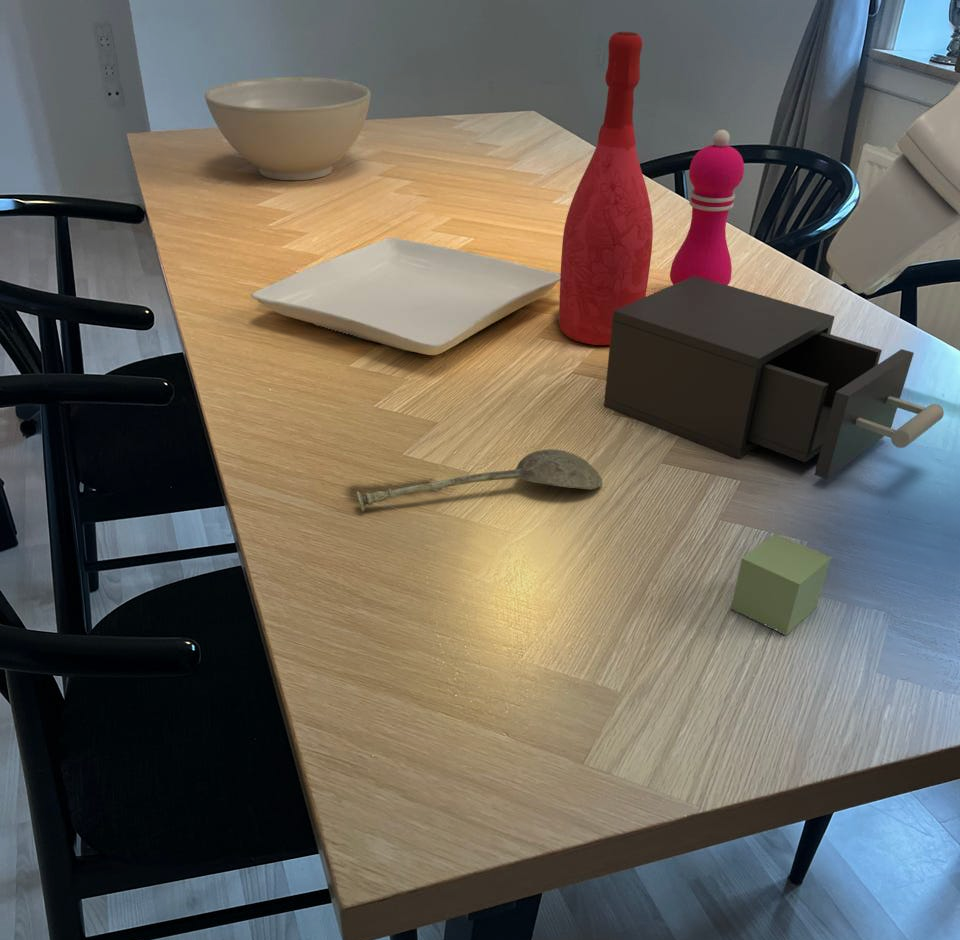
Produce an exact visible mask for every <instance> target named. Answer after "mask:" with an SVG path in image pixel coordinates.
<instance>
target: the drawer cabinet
mask: <svg viewBox="0 0 960 940" xmlns="http://www.w3.org/2000/svg"><path fill="white" fill-rule="evenodd" d="M834 321H835V315H832V314H830V313H829V314H828V313H825V312H821V311H818V310H816V309H815V310H814V309H811V308H807V307H804V306H800V305H798V304H793V303H790V302H786V301H783V300H780V299H777V298H772V297H769V296H766V295H763V294H760V293H756V292H752V291H749V290H745V289H741V288H738V287H735V286H732V285H729V284H728V285H724V284H721V283H718V282H714V281H711V280H707V279H704V278H700V277H697V276H692V277H690V278H688V279H685V280H683V281H681V282H679V283H676V284H674V285H673V284H672V285H670V286H667V287H665V288H663V289H660V290H657V291H655V292H653V293H651V294H649V295H646V297H644V298H642V299H639V300H637V301H635V302H632V303H630V304H628V305H626V306H623V307H621V308H619V309H616V310H614V311H613V320H612V328H611V339H610V345H609V349H608V360H607V370H606V379H605V390H604V400H603V406H604V407H605V408H608V409H611V410H613V411H615V412H619V413H621V414H622V415H626V416H629V417H631V418H633V419H635V420H636V419H637V420H639V421H641V422H644V423H646V424H649V425H652V426H654V427H656V428H659V429H662V430H664V431H667V432H669V433H672V434H674V435H677V436H679V437H682V438H684V439H687V440H690V441H692V442H695V443H697V444H698V445H699V444H700V445H702V446H704V447H707V448H709V449H712V450H715V451H716V452H717V451H718V452H720V453H722V454H725V455H728V456H730V457H733V458H735V459H738V460H739V459H741V458H742V457H744V456H746V455H747V454H749V453H750V452H752V451H754V450H755V449H756V448H758V447H759V446H760V445H758V444H755V443H753V442H750V441H748V440H747V437H748V432H749V427H750V422H751V417H752V412H753V408H754V403H755V398H756V393H757V388H758V383H759V378H760V373H761V368H762V365H763V364H765V363H767V362H768V361H770V360H772V359H774V358H775V357H777V356H779V355H781V354H782V353H784V352H786V351H788V350H789V349H791V348H793V347H795V346H796V345H798V344H800V343H802V342H804V341H805V340H807V339H809V338H811V337H812V336H814V335H816V334H818V333H819V332H824V333H827V334H832V329H833V324H834Z"/></svg>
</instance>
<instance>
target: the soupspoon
mask: <svg viewBox="0 0 960 940" xmlns="http://www.w3.org/2000/svg"><path fill="white" fill-rule="evenodd" d="M512 479H513V480H514V479H515V480H516V479H520V480H523V481H526V482H530V483H531V482H532V483H535V484H536V483H537V484H541V485H549V486H554V487H561V488H571V489H572V488H573V489H583V490H595V489H599V488H600V487H602V485H603V478H602V477H601V475H600V474H599V472H598V471H597V469H596V468H595V467H593V466H592V464H591V463H589V462H588V461H586V460H585V458H582V457H581V456H579V455H577V454H575V453H572V452H569V451H566V450H562V449H556V448H555V449H551V448H550V449H549V448H548V449H541V450H536V451H533V452H530V453H528V454H527V455H525V456H524V457H522V459H521V460H520V461H519V462H518V463H517V466H516V468H515V469H509V470H499V471H489V472H482V473H474V474H470V475H469V474H468V475H464V476H459V477H453V478H448V479H447V478H446V479H441V480H436V481H431V482H426V483H421V484H414V485H410V486H405V487H399V488H396V489H392V488H390V487H389V488H388V489H387V490H386V491H382V490H379V491H375V492H374V491H373V492H372V493H370V492H365V494H364V496H363V495H362V494H361V493H360V492H359V491H356V496H357V500H358V504H359V508H360V510H361V512H362V513H363V512H365V510H366V506H369V507H370V506H373V504H374V503H375V504H376V503H377V502H379V503H380V502H383V501H385V500H386V499H387V498H390V499H394V497H396V496H397V497H398V496H403V495H408V494H414V493H418V492H425V491H431V490H437V489H444V488H449V487H455V486H460V485H466V484H474V483H481V482H489V481H499V480H512Z"/></svg>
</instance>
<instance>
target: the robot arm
mask: <svg viewBox="0 0 960 940" xmlns="http://www.w3.org/2000/svg"><path fill="white" fill-rule="evenodd" d="M897 147H898V148H899V150H900V151H901V154H900V155H899V156H898V157H897V158H896V159H894V160H893V161H892V162H891V163H890V164H889V165H888V167H886V168H885V170H884V171H883V172H882V173H881V175H879V177H878V178H877V179H876V180H875V182H874V183H873V184H872V185H871V187H870V188H869V189H868V191H867V192H866V194H865V195H864V196H863V197H862V199H861V200H860V201H859V203H858V204H857V205H856V207H855V208H854V209H853V211H851V213H850V215H849V216H848V218H847V219H846V221H845V222H844V223H843V224H842V225H841V227H840V229H839V230H838V231H837V233H836V234H835V236H834V237H833V238H832V240H831V242H830V243H829V247H828V249H827V252H826V262H827V264H828V265H829V266H830V268H831V269H832V270H833V272H834V273H836V275H837V276H838V277H839V278H840V280H842V281H843V283H844V284H846V286H847V287H848V288H849V289H850V290H851V291H852V292H853V293H854V294H864V295H866V296H870V295H872V294H875V293H876V292H877V291H879V290H880V289H883V288H884V287H885V286H887V285H889V284H891V283H893V282H894V281H895V280H896V279H897V278H898V277H899V276H900V275H901V274H902V273H903V272H904V270H906V268H908V267H909V266H911V265H913V264H914V263H916V262H918V261H919V260H921V259H922V258H925V257H926V256H928V255H929V254H931V253H933V252H935V251H936V250H938V249H940V248H941V247H944V246H945V245H946V244H948V243H950V242H952V241H953V240H955V239H957V238H959V237H960V81H958V83H957V84H956V85H955V86H954V87H953V88H952V90H951V91H950V92H949V93H947V94H946V95H944V97H942V99H939V101H937V102H936V103H934V105H932V106H931V107H929V108H928V109H927V110H925V111H924V112H923V113H922V114H921V115H920V116H918V117H917V118H916V119H915V120H914V121H913V122H912V123H911V124H910V125H909V127H907V129H906V130H905V131H904V133H902V135H901V136H900V138H899V139H898V141H897Z"/></svg>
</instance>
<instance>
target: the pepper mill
mask: <svg viewBox="0 0 960 940" xmlns="http://www.w3.org/2000/svg"><path fill="white" fill-rule="evenodd" d="M730 138H731V136H730V134H729V132H728V131H727V130H726V129H719V130H717V131H716V132H714V135H713V138H712V142H713V144H710V145H707V146H704V147H702V148H701V149H699V150H698V151H697V152H696V153H695V155H694V156H693V157H692V160H691V162H690V165H689V170H688V177H689V180H690V183H691V185H692V186H693V189H692V190H691V191H690V193H689V194H690V200H689V202H688V203H689V205H690V207H692V208H691V221H690V226H689V229H688V232H687V235H686V236H685V239H684V240H683V242H682V244H681V246H680V247H679V249H678V250H677V252H676V254H675V256H674V258H673V261H672V263H671V267H670V270H669V279H670V281H671V284H672V285H674V284H676V283H679V282H681V281H683V280H685V279H688V278H690V277H692V276H697V277H700V278H704V279H707V280H711V281H714V282H718V283H721V284H724V285H728V286H729V284H730V283H731V280H732V271H733V268H732V259H731V255H730V252H729V246H728V243H727V237H726V234H727V233H726V227H727V219H728V215H729V211H730V210H731V209H733V208H734V206H735V204H734V200H735V198H736V194H735V193H734V190H735V189H736V188H737V187H738V186H739V185H740V184H741V182H742V181H743V178H744V172H745V163H744V159H743V156H742V155H741V153H740V152H739V151H738V150H737V149H736V148H734V147H732V146H730V145H728V144H729V143H730Z"/></svg>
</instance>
